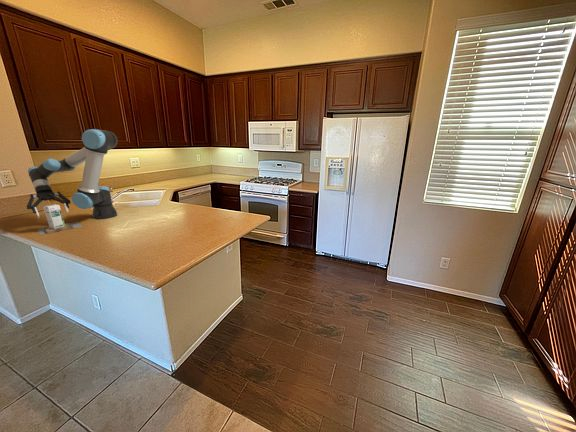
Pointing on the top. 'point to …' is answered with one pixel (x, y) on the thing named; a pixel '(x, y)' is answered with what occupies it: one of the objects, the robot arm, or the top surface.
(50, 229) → the stand
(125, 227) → the top surface
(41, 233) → the mat
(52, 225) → the syrup box
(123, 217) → the top surface
